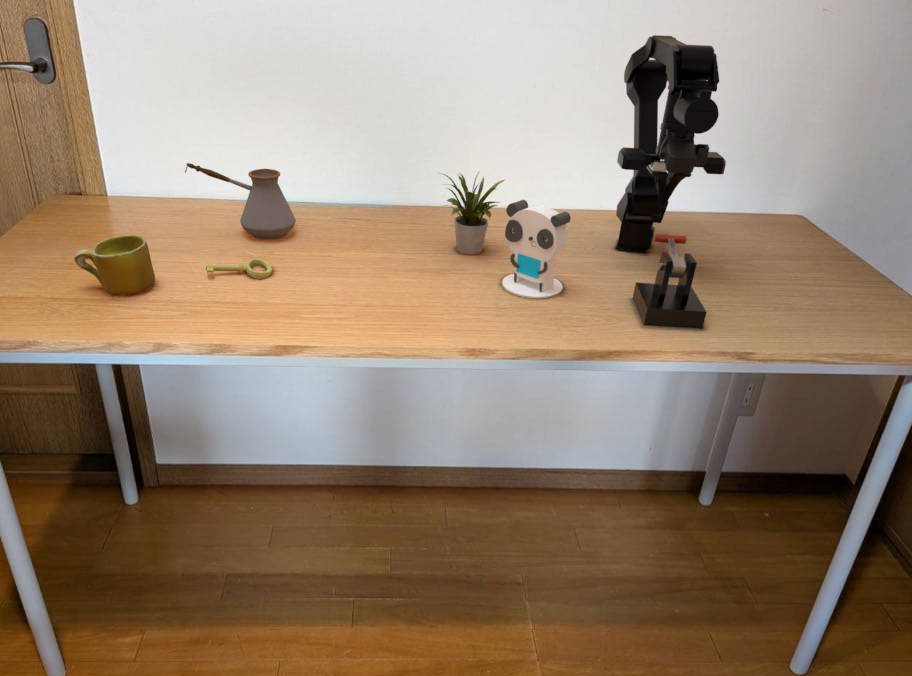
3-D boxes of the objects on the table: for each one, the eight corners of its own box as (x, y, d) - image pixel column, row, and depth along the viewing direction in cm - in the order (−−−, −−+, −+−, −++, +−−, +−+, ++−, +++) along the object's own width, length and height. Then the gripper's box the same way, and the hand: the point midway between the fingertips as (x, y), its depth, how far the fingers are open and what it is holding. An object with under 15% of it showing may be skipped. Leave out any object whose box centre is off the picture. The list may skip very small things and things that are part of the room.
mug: (170, 264, 138) (145, 220, 130) (157, 302, 132) (130, 258, 124) (108, 272, 140) (80, 230, 132) (93, 310, 133) (63, 268, 126)
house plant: (418, 254, 152) (420, 174, 143) (442, 233, 163) (446, 157, 154) (484, 267, 148) (491, 185, 139) (505, 244, 159) (512, 167, 150)
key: (202, 274, 139) (201, 264, 138) (264, 263, 146) (263, 252, 144) (217, 288, 135) (216, 277, 133) (280, 275, 141) (279, 265, 140)
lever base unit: (632, 300, 137) (643, 243, 132) (686, 303, 137) (700, 247, 131) (643, 326, 128) (656, 267, 122) (701, 330, 128) (717, 271, 122)
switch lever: (652, 241, 134) (655, 230, 133) (682, 242, 134) (686, 231, 133) (660, 276, 128) (663, 265, 126) (692, 278, 128) (696, 267, 126)
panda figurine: (487, 283, 141) (494, 205, 133) (523, 268, 148) (531, 193, 140) (538, 303, 134) (549, 223, 126) (574, 286, 141) (586, 208, 133)
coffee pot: (296, 224, 164) (291, 154, 156) (296, 243, 155) (292, 170, 147) (196, 226, 161) (186, 155, 153) (190, 245, 152) (180, 171, 144)
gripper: (635, 128, 128) (619, 217, 137) (744, 133, 128) (722, 222, 136) (624, 115, 138) (610, 199, 146) (726, 120, 137) (706, 204, 146)
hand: (661, 206), depth 143 cm, fingers closed
